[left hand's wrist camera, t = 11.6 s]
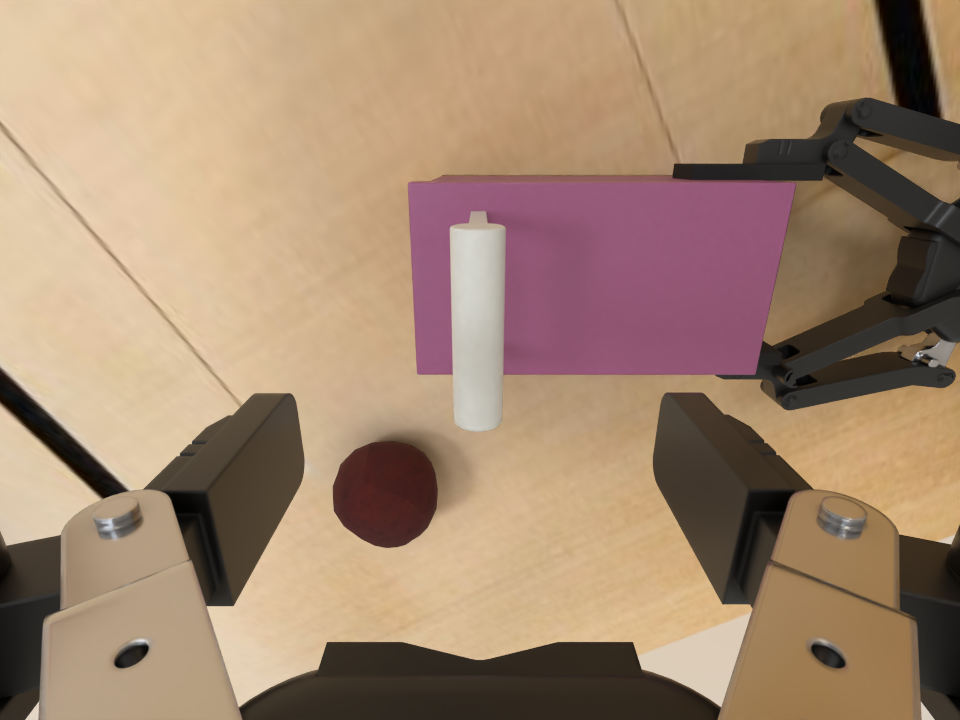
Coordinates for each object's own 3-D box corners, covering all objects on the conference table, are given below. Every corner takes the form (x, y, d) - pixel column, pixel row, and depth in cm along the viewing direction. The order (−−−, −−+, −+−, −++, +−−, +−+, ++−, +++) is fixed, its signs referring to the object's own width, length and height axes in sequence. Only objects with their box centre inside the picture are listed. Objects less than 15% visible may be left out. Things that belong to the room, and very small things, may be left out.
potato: (413, 518, 42) (401, 583, 36) (330, 475, 41) (301, 535, 34) (460, 453, 40) (456, 511, 34) (373, 406, 39) (351, 456, 32)
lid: (419, 365, 27) (392, 458, 19) (411, 181, 24) (373, 193, 15) (743, 365, 27) (862, 458, 19) (781, 181, 24) (947, 193, 15)
